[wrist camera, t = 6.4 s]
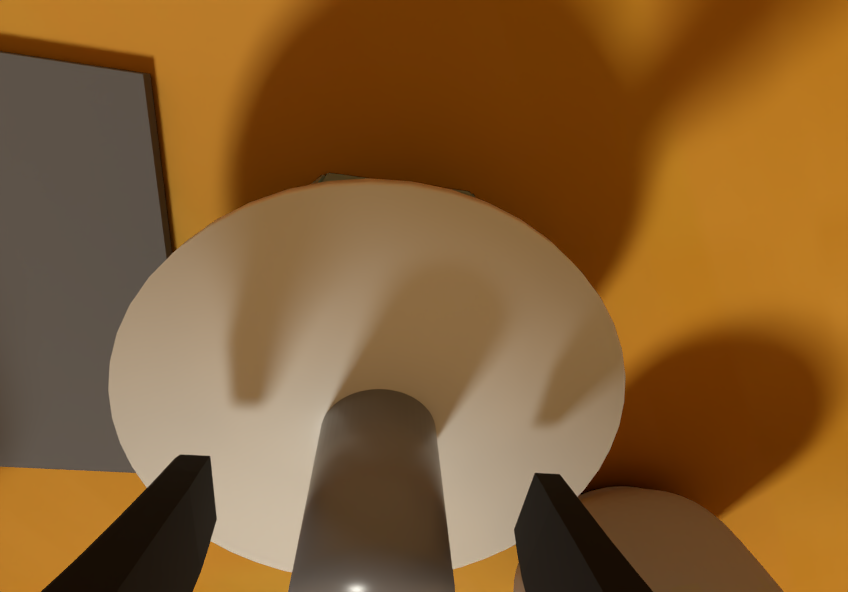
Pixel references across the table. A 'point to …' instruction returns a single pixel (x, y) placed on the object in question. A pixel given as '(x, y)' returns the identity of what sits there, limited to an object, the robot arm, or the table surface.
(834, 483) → the table surface
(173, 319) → the lid
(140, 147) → the mat
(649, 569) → the teacup
